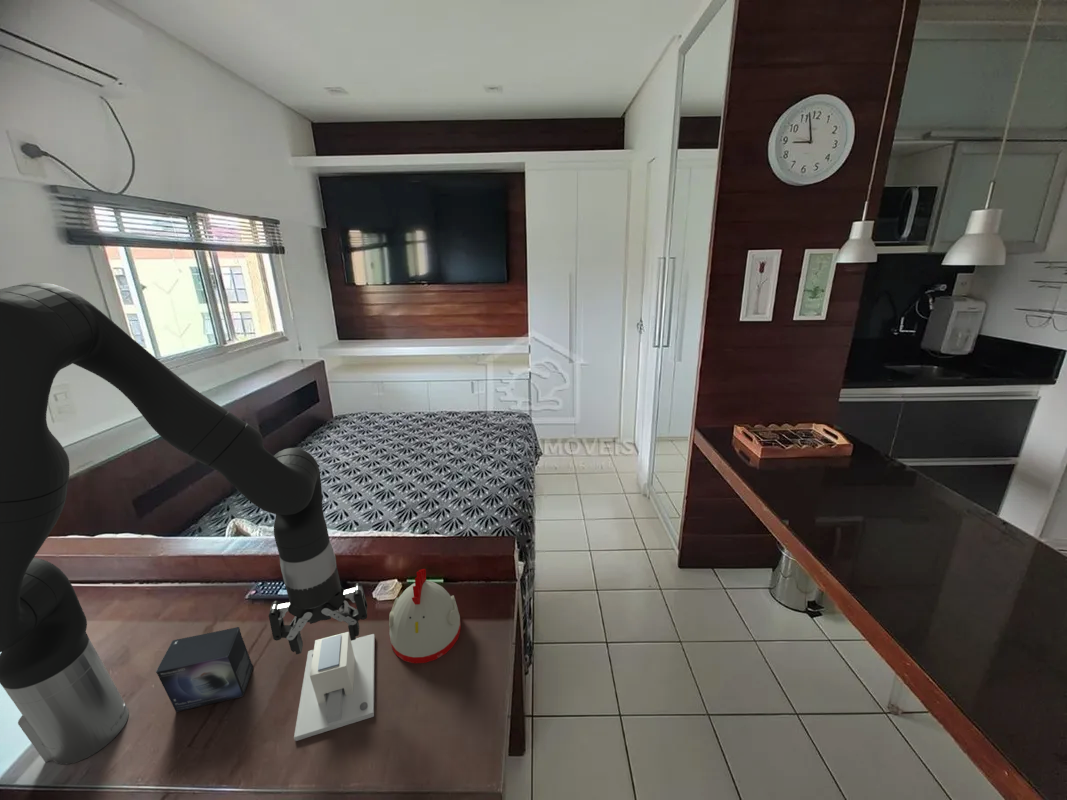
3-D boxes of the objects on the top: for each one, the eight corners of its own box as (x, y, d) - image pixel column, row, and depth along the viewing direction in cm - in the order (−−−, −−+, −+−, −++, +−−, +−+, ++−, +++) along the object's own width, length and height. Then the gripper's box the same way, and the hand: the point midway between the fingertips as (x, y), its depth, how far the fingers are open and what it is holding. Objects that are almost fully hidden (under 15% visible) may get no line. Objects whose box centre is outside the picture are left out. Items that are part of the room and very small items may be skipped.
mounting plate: (295, 741, 70) (291, 730, 69) (309, 654, 84) (306, 645, 83) (373, 716, 74) (371, 706, 73) (374, 637, 88) (372, 627, 87)
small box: (173, 716, 74) (152, 673, 70) (190, 680, 80) (171, 638, 76) (243, 698, 77) (227, 656, 73) (254, 665, 83) (239, 624, 79)
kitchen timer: (382, 664, 82) (370, 605, 77) (400, 605, 95) (390, 550, 90) (456, 661, 83) (449, 602, 77) (464, 603, 96) (459, 548, 90)
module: (318, 704, 75) (309, 674, 72) (322, 667, 81) (314, 639, 78) (353, 693, 76) (345, 664, 74) (355, 658, 83) (348, 630, 80)
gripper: (253, 598, 64) (276, 674, 70) (357, 576, 68) (370, 650, 74) (264, 563, 70) (285, 635, 77) (358, 544, 75) (371, 615, 81)
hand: (327, 642), depth 75 cm, fingers open, 8 cm apart
